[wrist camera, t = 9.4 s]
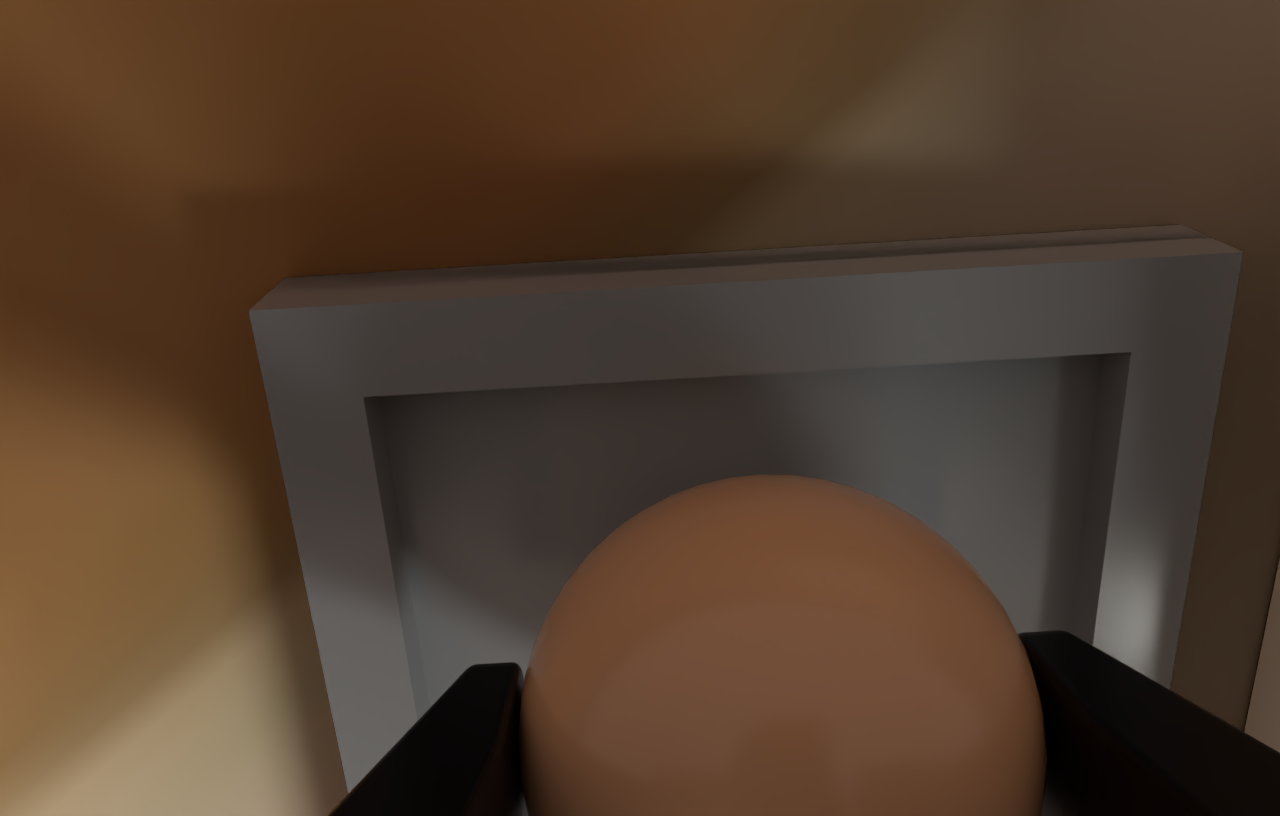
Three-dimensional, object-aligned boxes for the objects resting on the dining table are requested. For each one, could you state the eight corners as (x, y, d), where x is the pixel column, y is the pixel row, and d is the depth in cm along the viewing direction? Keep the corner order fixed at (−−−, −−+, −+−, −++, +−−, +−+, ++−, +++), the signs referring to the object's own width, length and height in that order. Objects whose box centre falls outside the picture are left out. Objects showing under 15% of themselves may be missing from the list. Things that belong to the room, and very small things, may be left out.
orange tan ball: (942, 745, 11) (1109, 1143, 7) (554, 767, 11) (524, 1177, 7) (965, 385, 9) (1196, 654, 6) (516, 411, 9) (451, 697, 6)
